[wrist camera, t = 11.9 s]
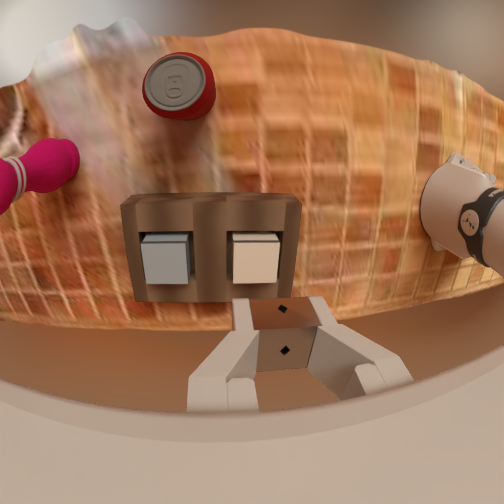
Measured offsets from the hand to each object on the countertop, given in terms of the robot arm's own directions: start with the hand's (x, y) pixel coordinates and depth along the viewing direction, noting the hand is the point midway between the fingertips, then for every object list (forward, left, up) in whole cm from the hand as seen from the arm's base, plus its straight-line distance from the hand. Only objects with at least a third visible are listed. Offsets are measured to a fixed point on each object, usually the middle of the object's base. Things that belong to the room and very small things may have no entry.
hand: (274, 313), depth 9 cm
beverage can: (+6, -10, -29) cm, 32 cm away
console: (+3, +10, -29) cm, 31 cm away
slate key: (+9, +10, -27) cm, 30 cm away
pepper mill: (+25, -3, -29) cm, 39 cm away
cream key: (-3, +10, -27) cm, 29 cm away
